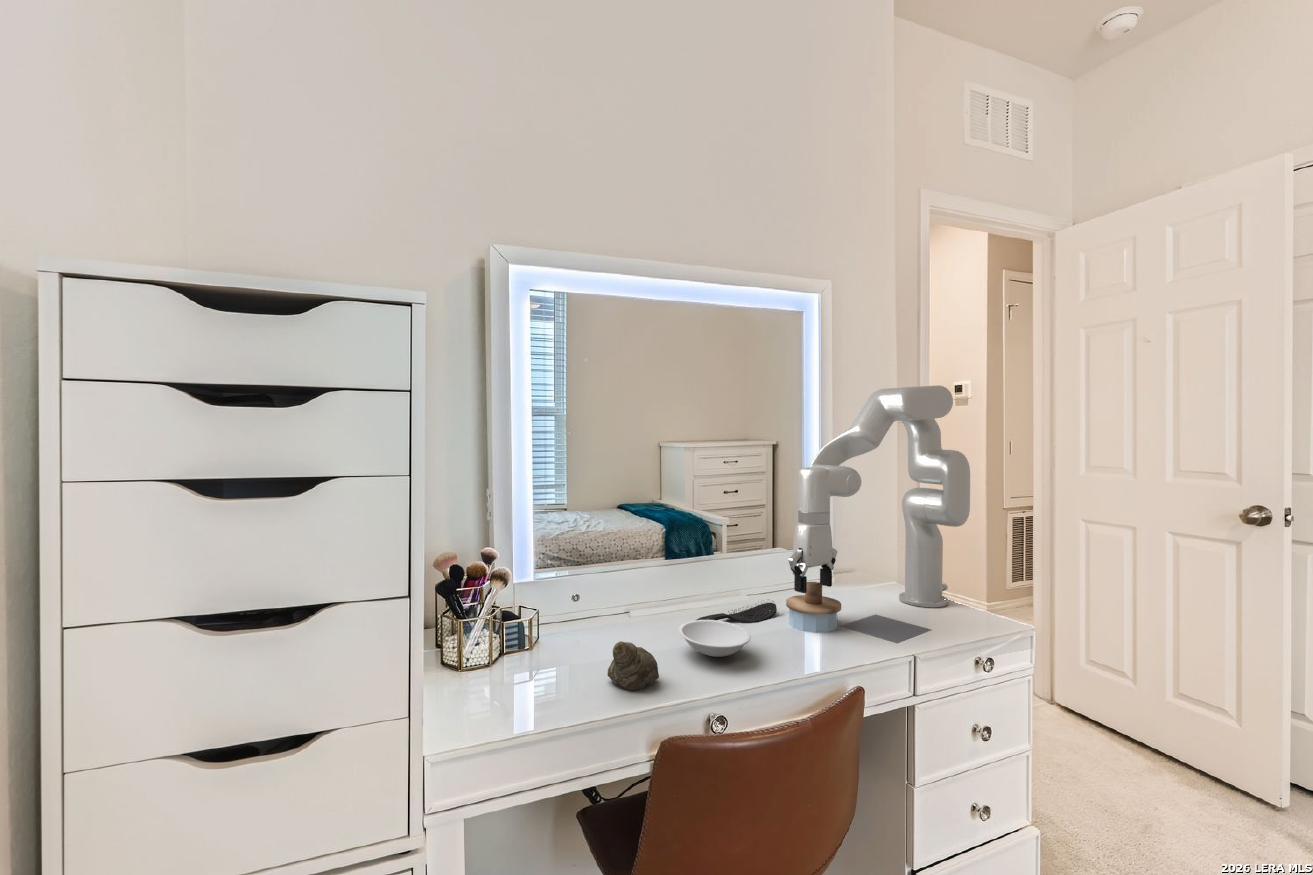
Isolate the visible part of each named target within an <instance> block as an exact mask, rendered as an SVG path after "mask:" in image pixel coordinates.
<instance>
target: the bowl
mask: <svg viewBox="0 0 1313 875" xmlns="http://www.w3.org/2000/svg"><path fill="white" fill-rule="evenodd" d="M788 609H789V608H788ZM788 613H789V614H788V615H789V616H788V621H789V622H788V624H789V625H790V627H792V629H795V630H799V631H802V632H807V633H814V634H815V633H816V634H820V633H821V634H822V633H830V632H833V631H836V630H837V628H838V612H837V613H833V614H822V615H820V614H807V613H801V612H797V611H794V610H791V609H789V612H788Z"/></svg>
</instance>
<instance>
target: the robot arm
mask: <svg viewBox="0 0 1313 875" xmlns="http://www.w3.org/2000/svg"><path fill="white" fill-rule="evenodd" d="M953 404H954V397H953V394H952V392H951V391H950V389H949V388H948V387H946V386H944V385H921V386H917V385H916V386H905V387H892V388H891V387H890V388H881V389H878V390H875V391H874V392H872V393H871V395H870V396H869V397H868V398H867V400H866V401H865V403H864V405H863V407H862V408H861V410H860V412H859V413H858V415H857V416H856V418H855V419H854V421H852V424H851V425H850V427H849V428H848V429H847V430H845V431H844V432H842V433H841V434H839V435H837V436H836V437H835V438H833V439H832V440H831V441H829V442H827V443H826V444H825V445H824V446H823V447H821V448H820V450H819V451H818V452H817V453H816V455H815V457H813V460H812V461H811V463H810V464H809V466H808V467H802V468H801V469H800V470H799V471H798V475H797V476H798V478H797V479H798V484H797V486H798V487H797V488H798V490H797V494H798V495H797V497H798V500H797V505H798V506H797V508H798V510H797V524H796V525H795V529H794V535H793V544H792V555H791V556H790V557H789V558H788V564H789V567H790V570H791V572H792V574H793V576H794V580H793V581H794V585H793V586H794V587H793V588H794V592H797V593H801V594H805V593H806V592H807V582H808V579H807V576H806V573H807V571H808V569H809V568H814V567H819V566H821V568H819V583H821V584H822V586H825V587H828V588H830V587H831V588H832V587H833V571H834V568H835V567H834V565H835V564H836V558H837V556H838V550H837V549H836V548H834V547H833V536H832V534H833V533H832V529H831V497H838V498H839V497H841V498H849V497H852V496H854V495H855V494H857V493H858V492H859V491H860V489H861V486H862V477H861V475H860V473H859V472H858V471H857V470H856V469H855V468H852V467H850V466H845V465H843V466H842V465H841V464H844V463H845V462H846V461H848V460H850V459H852V458H856V457H858V456H861V455H864V454H867V453H869V452H872V451H874V450H876V449H877V448H878V447H880V445H881V443H882V441H883V440H884V438H885V437H886V435H887V433H888V431H889V430H890V428H891V427H892V426H893V423H894V422H901V423H902V424H903V425H904V427H905V430H906V434H907V435H906V436H907V471H908V472H907V473H908V475H909V478H910V479H911V480H913V482H915V483H916V482H917V483H919V484H920V483H921V484H922V483H923V484H928V485H929V484H930V485H940V486H942V489H938V488H931V487H914V488H911V489H909V490H907V491H906V492H905V493H904V495H903V497H902V500H901V508H902V513H903V514H902V515H903V519H904V520H903V521H904V526H905V527H904V528H905V529H904V530H905V545H904V546H905V547H904V548H905V553H904V554H905V555H904V557H905V558H904V560H905V562H904V565H905V566H904V568H905V569H904V591H903V592H901V593H899V595H898V600H900V602H902V603H904V604H907V605H911V606H916V607H921V608H943V607H946V606H948V604H949V599H948V598H947V597H945V596H944V595H943V592H945V591H947V590H948V587H949V586H948V585H947V584H946V583H943V560H944V559H943V551H944V550H943V549H944V548H943V547H944V542H943V541H944V540H943V536H942V532H941V530H940V528H939V526H944V527H945V526H946V527H952V528H956V527H962V526H964V525H965V524H966V523H967V521H968V519H969V515H970V512H971V511H970V510H971V466H970V462H969V460H968V458H967V457H966V455H965V454H964V453H963V452H961V451H959V450H955V449H943V448H942V432H941V428H940V426H939V424H938V422H937V420H936V419H941V418H945V417H946V416H947V415H948V414H949V413H950V412H951V411H952V409H953ZM938 525H939V526H938ZM944 599H946V600H944Z"/></svg>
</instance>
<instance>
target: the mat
mask: <svg viewBox="0 0 1313 875" xmlns="http://www.w3.org/2000/svg"><path fill="white" fill-rule="evenodd" d="M840 627H841V628H845V629H848V630H852V631H855V632H858V633H861V634H865V635H868V636H871V637H874V638H879V639H881V640H885V641H888V642H891V643H893V644H900V643H902V642H904V641H907V640H909V639H912V638H915V637H917V636H920V635H923V634H925V633H927V632H930V631H932V628H928V627H923V626H920V625H915V624H913V623H909V622H905V621H901V620H897V619H893V618H890V617H886V616H882V615H881V614H873V615H870V616H867V617H863V618H860V619H857V620H853V621H851V622H848V623H844V624H842V625H840Z"/></svg>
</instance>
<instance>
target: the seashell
mask: <svg viewBox="0 0 1313 875" xmlns="http://www.w3.org/2000/svg"><path fill="white" fill-rule="evenodd" d="M612 657H613V660H612V661H611V663H610V665H609V667H608V668H607V675H606V676H607V677H609V679H610V680H611V681H612V682H613V683H614V684H616V685H617V686H619V687H623V688H625V690H628V691H630V690H632V691H642V690H643V689H645V687H646V686H652V685H653V684H655V682H656V681H657V680H658V679H659V678H660V674H659V666H658V662H657V659H656V658H655V657H654V655H653V654H652V653H651V652H650V651H647V649H645V648H644V647H641V646H636V645H635V644H634V643H632V642H629V641H622V640H621V641H618V642H616V643H615V645H614V646H613V648H612ZM641 689H642V690H641Z"/></svg>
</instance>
